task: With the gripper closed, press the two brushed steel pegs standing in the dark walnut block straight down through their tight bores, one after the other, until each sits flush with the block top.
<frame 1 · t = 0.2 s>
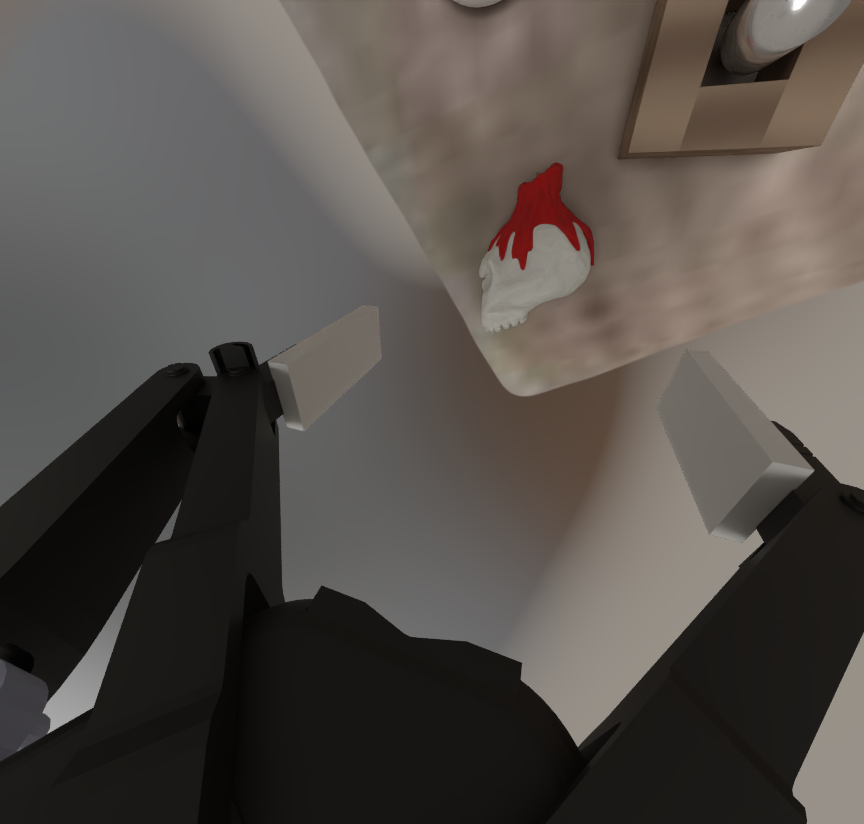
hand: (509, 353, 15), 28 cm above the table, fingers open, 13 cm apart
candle: (536, 250, 37), on the table
steel peg b: (782, 13, 19), point 8 cm above the table, slide at 0.0 cm
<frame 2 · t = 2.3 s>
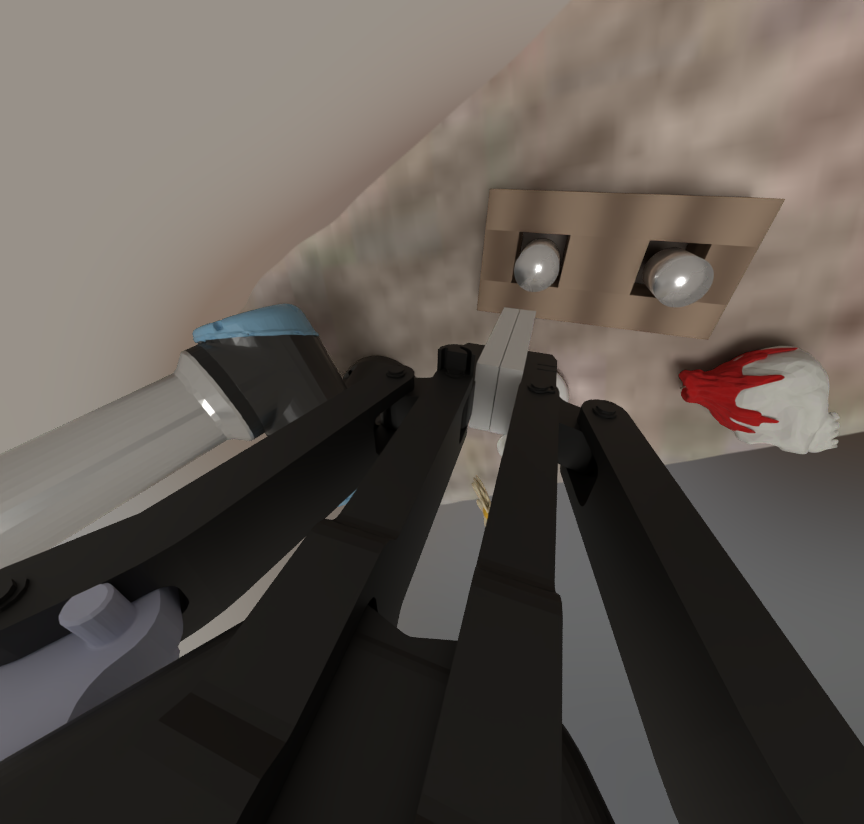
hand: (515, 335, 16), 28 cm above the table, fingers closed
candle: (740, 377, 39), on the table
walnut block: (595, 255, 37), on the table
steel peg b: (674, 276, 29), point 8 cm above the table, slide at 0.0 cm
steel peg a: (537, 264, 32), point 8 cm above the table, slide at 0.0 cm
flower in vase: (526, 395, 50), on the table
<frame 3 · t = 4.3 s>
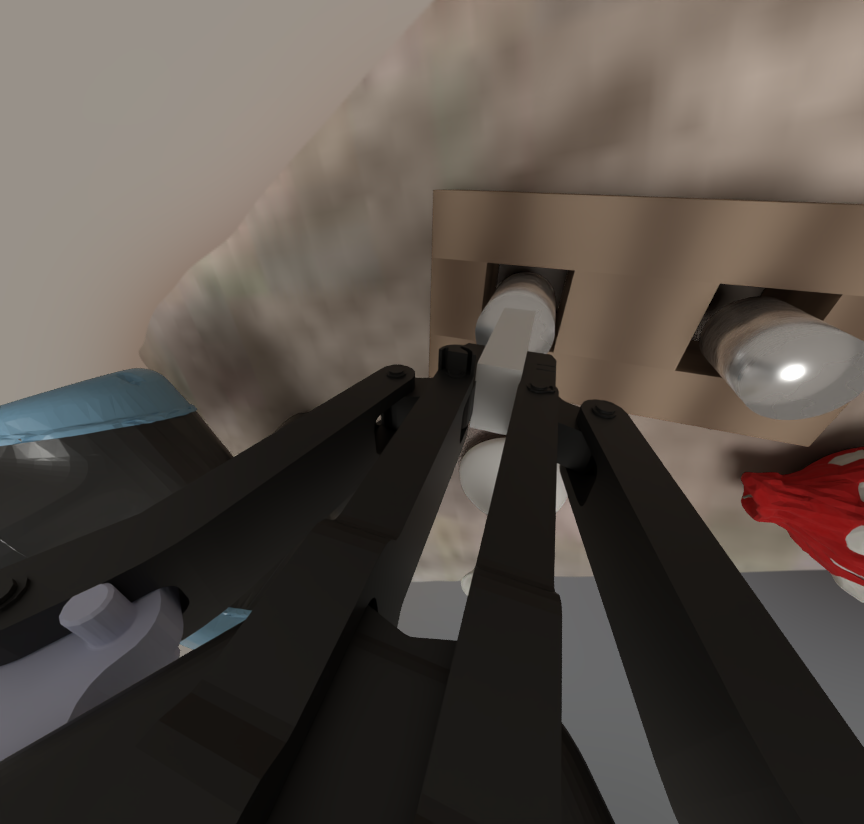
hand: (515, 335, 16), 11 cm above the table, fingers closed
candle: (832, 477, 26), on the table
walnut block: (613, 295, 23), on the table
steel peg b: (770, 353, 16), point 8 cm above the table, slide at 0.0 cm
steel peg a: (518, 318, 19), point 8 cm above the table, slide at 0.5 cm, touching gripper
flower in vase: (511, 474, 36), on the table
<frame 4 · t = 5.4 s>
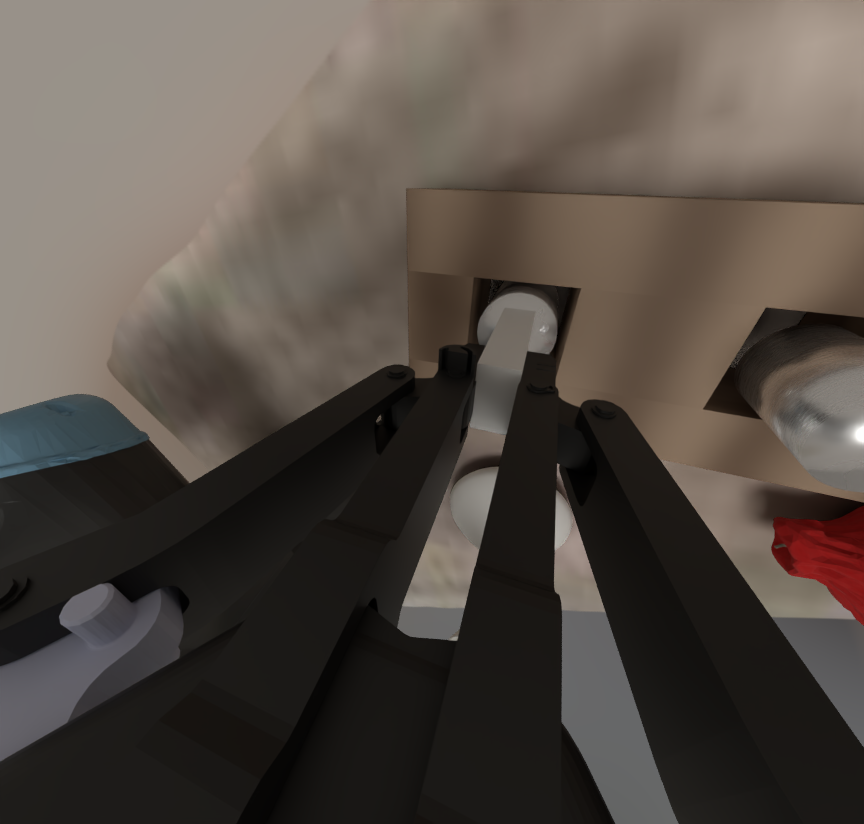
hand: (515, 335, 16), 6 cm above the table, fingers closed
walnut block: (625, 313, 20), on the table
steel peg b: (834, 400, 12), point 8 cm above the table, slide at 0.0 cm
steel peg a: (521, 317, 19), point 3 cm above the table, slide at 4.8 cm, touching gripper
flower in vase: (508, 503, 33), on the table
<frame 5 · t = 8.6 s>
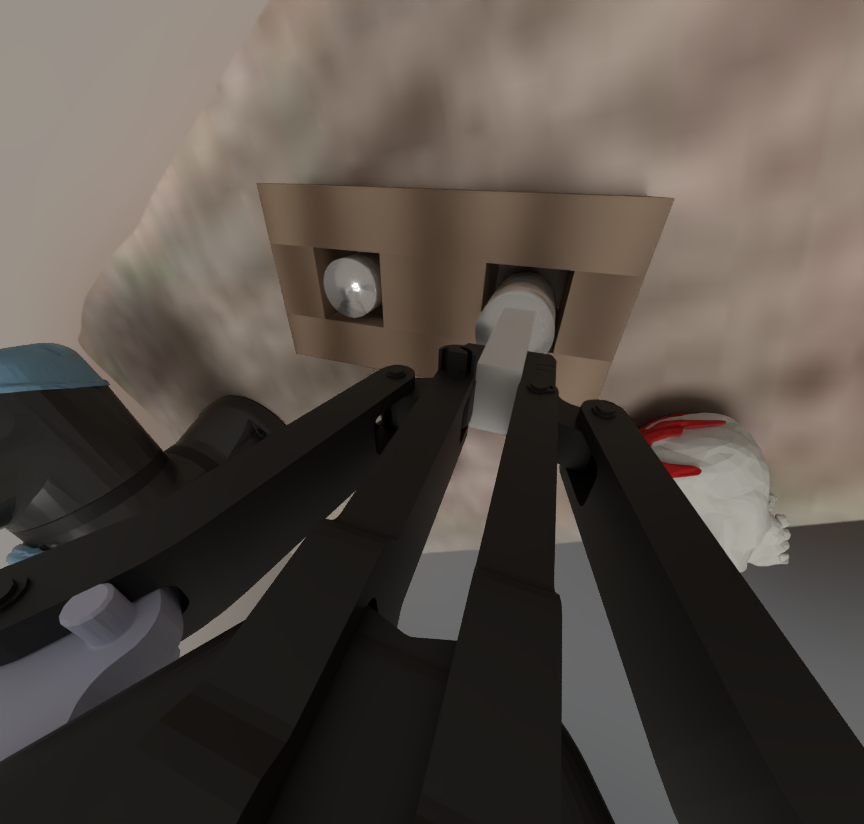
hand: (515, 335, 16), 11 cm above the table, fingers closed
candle: (663, 444, 28), on the table
walnut block: (453, 279, 26), on the table
steel peg b: (518, 317, 19), point 8 cm above the table, slide at 0.7 cm, touching gripper
steel peg a: (366, 280, 25), point 3 cm above the table, slide at 4.9 cm
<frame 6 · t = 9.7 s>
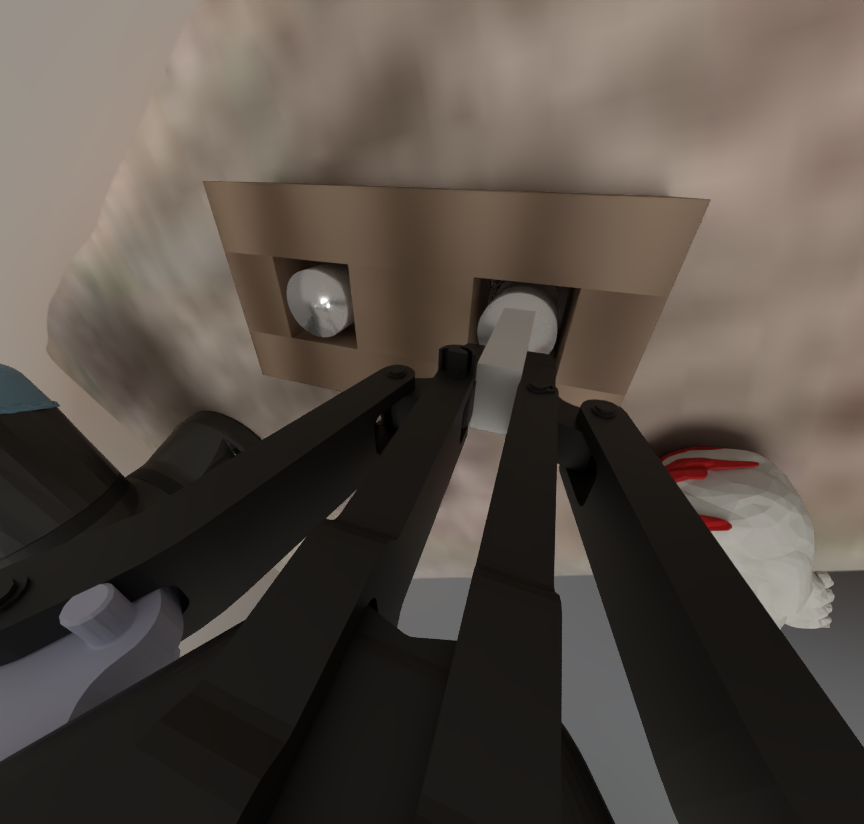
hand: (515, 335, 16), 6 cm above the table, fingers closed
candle: (679, 478, 25), on the table
walnut block: (439, 291, 23), on the table
steel peg b: (521, 317, 19), point 3 cm above the table, slide at 4.8 cm, touching gripper
steel peg a: (339, 294, 22), point 3 cm above the table, slide at 4.9 cm
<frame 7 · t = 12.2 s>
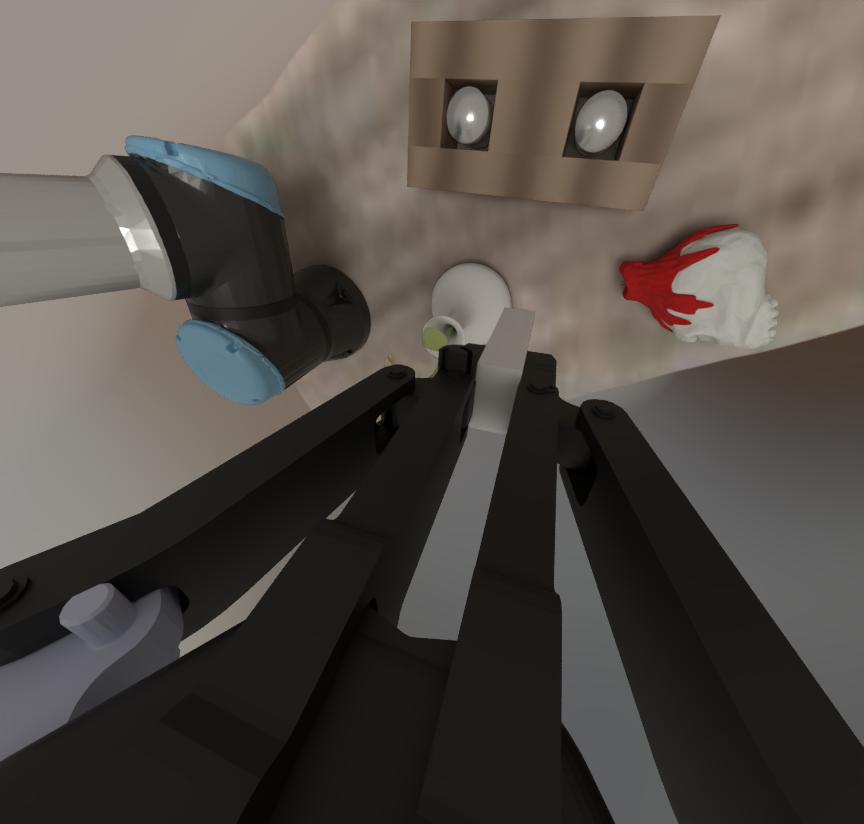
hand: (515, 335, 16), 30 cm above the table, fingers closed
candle: (685, 277, 37), on the table
walnut block: (536, 128, 34), on the table
steel peg b: (598, 127, 30), point 3 cm above the table, slide at 4.9 cm
steel peg a: (473, 120, 33), point 3 cm above the table, slide at 4.9 cm
flower in vase: (471, 309, 47), on the table
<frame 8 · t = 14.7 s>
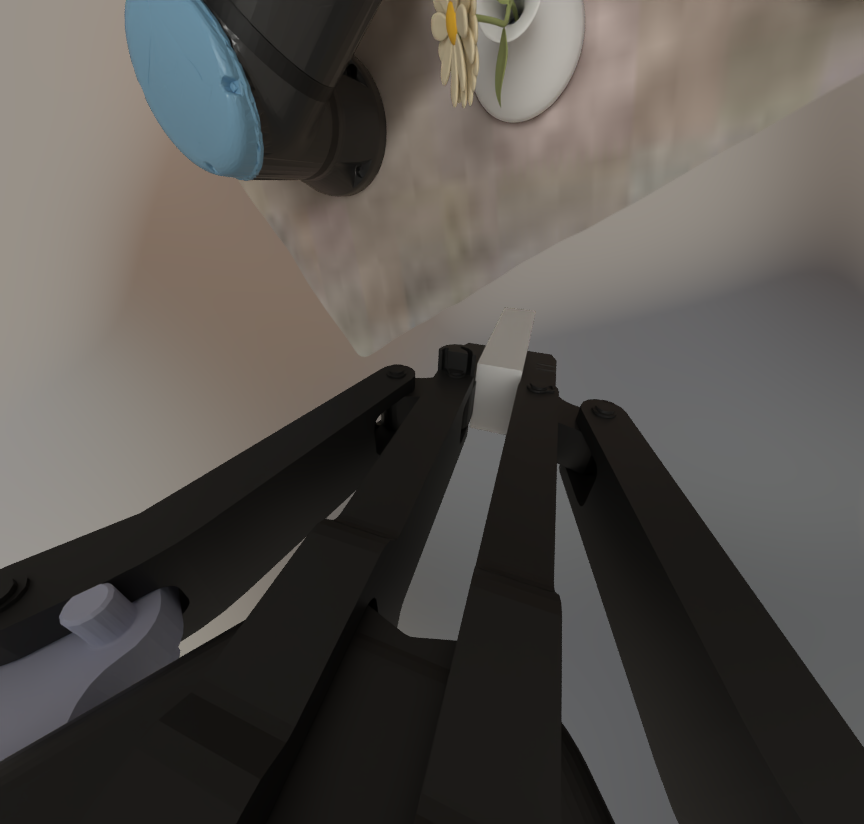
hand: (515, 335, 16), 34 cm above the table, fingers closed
flower in vase: (523, 65, 35), on the table
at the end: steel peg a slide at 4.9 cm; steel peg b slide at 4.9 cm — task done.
